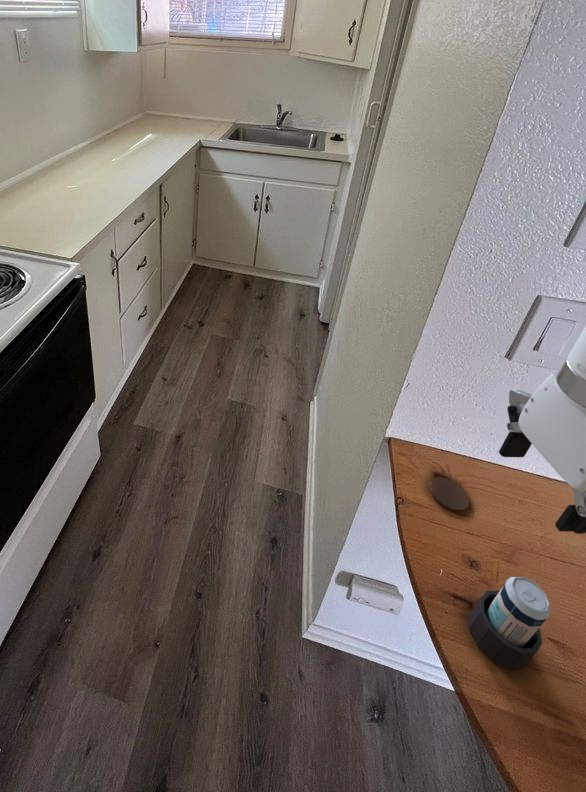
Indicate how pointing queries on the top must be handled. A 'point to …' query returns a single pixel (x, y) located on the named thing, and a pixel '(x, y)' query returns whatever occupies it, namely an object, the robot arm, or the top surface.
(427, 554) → the top surface
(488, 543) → the top surface
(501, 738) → the top surface
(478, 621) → the ring
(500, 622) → the beer can
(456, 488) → the coaster
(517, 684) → the top surface
